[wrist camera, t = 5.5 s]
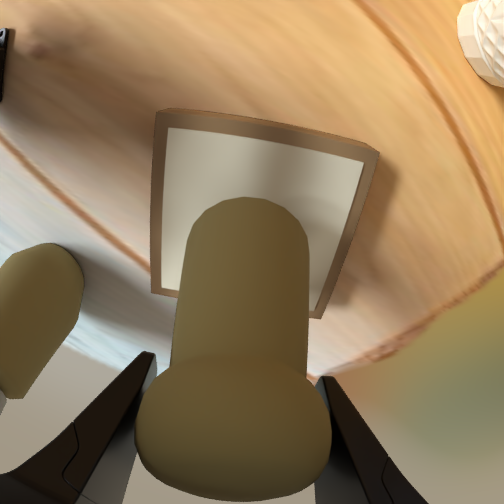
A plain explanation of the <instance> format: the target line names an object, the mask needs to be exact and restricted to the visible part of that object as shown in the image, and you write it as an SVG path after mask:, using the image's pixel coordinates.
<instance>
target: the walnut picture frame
mask: <svg viewBox="0 0 504 504" xmlns="http://www.w3.org/2000/svg"><path fill="white" fill-rule="evenodd" d="M379 154H380V152H378V151H377V150H375V149H374V148H372V147H371V146H369V145H367V144H366V143H362V142H359V141H355V140H352V139H348V138H344V137H341V136H337V135H333V134H329V133H325V132H320V131H316V130H312V129H307V128H303V127H298V126H293V125H289V124H284V123H278V122H273V121H268V120H262V119H256V118H250V117H244V116H237V115H230V114H223V113H215V112H207V111H197V110H187V109H176V108H168V109H165V110H161V111H158V112H156V121H155V132H154V145H153V159H152V177H151V205H150V268H151V293H154V294H159V295H164V296H169V297H175V298H178V294H179V287H180V280H181V274H182V267H183V261H184V255H185V249H186V243H187V239H188V236H189V233H190V231H191V228H192V226H193V224H194V222H195V221H196V220H197V219H198V218H199V217H200V216H201V215H202V213H203V212H204V211H205V210H207V209H208V208H210V207H212V206H214V205H216V204H217V203H219V202H221V201H223V200H228V199H233V198H238V197H253V198H261V199H266V200H269V201H271V202H273V203H276V204H278V205H280V206H282V207H284V208H286V209H287V210H288V211H289V212H290V213H291V214H292V215H293V216H294V217H295V218H297V219H298V220H299V222H300V224H301V225H302V227H303V229H304V231H305V233H306V235H307V237H308V245H309V253H310V280H309V318H314V319H321V318H322V316H323V313H324V311H325V309H326V306H327V304H328V301H329V299H330V296H331V294H332V291H333V289H334V286H335V284H336V281H337V279H338V276H339V274H340V271H341V268H342V266H343V263H344V260H345V258H346V255H347V252H348V249H349V247H350V244H351V241H352V238H353V236H354V233H355V230H356V227H357V224H358V221H359V218H360V215H361V212H362V209H363V206H364V203H365V200H366V197H367V194H368V190H369V187H370V184H371V181H372V177H373V174H374V171H375V167H376V164H377V161H378V157H379Z"/></svg>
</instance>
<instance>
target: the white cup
mask: <svg viewBox="0 0 504 504" xmlns="http://www.w3.org/2000/svg"><path fill="white" fill-rule="evenodd" d="M457 30H458V39H459V41H460V44H461V47H462V50H463V53H464V55H465V58H466V59H467V60H468V62H469V63H470V65H471V66H472V68H473V69H474V70H475V72H476V73H477V74H478V75H479V76H480V77H482V78H483V79H484V80H486V81H487V82H488V83H490V84H491V85H494V86H499V87H503V88H504V0H474V1H471V2H469V3H466V4H464V5H463V6H462V8H461V10H460V12H459V15H458V17H457Z"/></svg>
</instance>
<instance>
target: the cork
mask: <svg viewBox="0 0 504 504" xmlns="http://www.w3.org/2000/svg"><path fill="white" fill-rule="evenodd" d="M309 280H310V253H309V245H308V237H307V235H306V233H305V231H304V229H303V227H302V225H301V224H300V222H299V220H298V219H297V218H295V217H294V216H293V215H292V214H291V213H290V212H289V211H288V210H287V209H286V208H284V207H282V206H280V205H278V204H276V203H273V202H271V201H269V200H266V199H261V198H253V197H238V198H233V199H228V200H223V201H221V202H219V203H217V204H216V205H214V206H212V207H210V208H208V209H207V210H205V211H204V212H203V213H202V215H201V216H200V217H199V218H198V219H197V220H196V221H195V222H194V224H193V226H192V228H191V231H190V233H189V236H188V239H187V243H186V249H185V255H184V261H183V267H182V274H181V280H180V287H179V294H178V301H177V308H176V316H175V323H174V332H173V340H172V349H171V358H170V367H169V368H168V369H167V370H165V371H164V372H162V373H161V374H160V375H158V376H157V377H156V378H154V380H153V381H152V383H151V384H150V386H149V387H148V389H147V390H146V392H145V393H144V395H143V398H142V401H141V404H140V407H139V411H138V414H137V417H136V420H135V424H134V444H135V447H136V449H137V452H138V454H139V457H140V460H141V462H142V464H143V465H144V467H145V468H146V470H148V472H150V473H151V474H152V475H153V476H154V477H155V478H156V479H158V480H160V481H161V482H163V483H164V484H166V485H168V486H171V487H173V488H176V489H178V490H181V491H184V492H187V493H189V494H192V495H196V496H200V497H204V498H209V499H215V500H221V501H233V502H251V501H262V500H269V499H274V498H279V497H284V496H289V495H292V494H294V493H297V492H300V491H302V490H303V489H305V488H307V487H308V486H310V485H311V484H312V483H314V482H315V481H316V480H317V479H318V478H319V477H320V475H321V474H322V472H323V470H324V468H325V466H326V465H327V463H328V461H329V455H330V449H331V443H332V430H331V423H330V416H329V411H328V409H327V407H326V405H325V403H324V401H323V399H322V396H321V394H320V393H319V392H318V391H317V389H316V388H315V387H314V386H313V384H312V383H311V382H310V381H309V380H308V379H307V378H306V374H307V353H308V327H309Z"/></svg>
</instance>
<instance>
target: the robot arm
mask: <svg viewBox="0 0 504 504" xmlns="http://www.w3.org/2000/svg"><path fill="white" fill-rule="evenodd" d="M8 33H9V30H8V28H2V29H0V102H1V100H2V85H3V71H4V61H5V53H6V45H7V39H8ZM156 376H157V362H156V355H155V354H154V353H151V352H146V351H143V352H141V353H140V354H139V355H138V356H137V357H136V358H135V359H134V360H133V361H132V362H131V363H130V364H129V365H128V366H127V367H126V368H125V369H124V370H123V371H122V372H121V373H120V374H119V375H118V376H117V377H116V378H115V379H114V380H113V381H112V382H111V383H110V384H109V385H108V386H107V387H106V388H105V389H104V390H103V391H102V392H101V393H100V394H99V395H98V396H97V397H96V398H95V399H94V400H93V402H91V403H90V404H89V405H88V406H87V407H86V408H85V409H84V411H82V412H81V413H80V414H79V416H77V417H76V419H75V420H74V422H71V423H70V425H68V426H67V428H66V429H65V430H63V431H62V432H61V433H60V434H59V435H58V436H57V437H56V438H55V439H54V440H53V441H51V442H50V443H49V444H48V445H47V446H45V447H44V448H43V449H41V450H40V451H39V452H37V453H36V454H35V455H34V456H32V457H31V458H30V459H28V460H27V461H26V462H24V463H23V464H22V465H20V466H19V467H18V468H16V469H14V470H12V471H10V472H7V473H4V474H0V504H122V502H123V498H124V495H125V491H126V487H127V484H128V480H129V477H130V474H131V471H132V467H133V464H134V461H135V457H136V454H137V449H136V447H135V444H134V424H135V420H136V417H137V414H138V411H139V407H140V404H141V401H142V398H143V395H144V393H145V392H146V390H147V389H148V387H149V386H150V384H151V383H152V381H153V380H154V378H156ZM315 388H316V389H317V391H318V392H319V393H320V394H321V396H322V399H323V401H324V403H325V405H326V407H327V409H328V411H329V416H330V423H331V430H332V443H331V449H330V455H329V461H328V463H327V465H326V466H325V468H324V470H323V472H322V474H321V475H320V477H319V478H318V479H317V480H316V481H315V482H314V485H315V500H316V504H428V503H427V501H426V500H425V499H424V498H423V497H422V496H421V495H420V494H419V493H418V492H417V491H416V489H415V488H414V487H413V486H412V485H411V484H410V483H409V482H408V480H407V479H406V478H405V477H404V476H403V475H402V473H401V472H400V471H399V469H398V468H397V466H396V465H395V464H394V462H393V461H392V459H391V458H390V457H388V454H387V452H386V451H385V450H384V448H383V447H382V445H381V444H380V442H379V441H378V439H377V438H376V437H375V435H374V434H373V432H372V431H371V430H370V428H369V427H368V425H367V424H366V423H365V421H364V419H363V418H362V417H361V415H360V414H359V412H358V411H357V409H356V408H355V406H354V405H353V404H352V402H351V401H350V399H349V398H348V397H347V395H346V393H345V392H344V391H343V389H342V388H341V386H340V385H339V383H338V382H337V381H336V379H335V378H334V377H333V376H321V377H320V378H319V380H318V382H317V383H316V385H315Z"/></svg>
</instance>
